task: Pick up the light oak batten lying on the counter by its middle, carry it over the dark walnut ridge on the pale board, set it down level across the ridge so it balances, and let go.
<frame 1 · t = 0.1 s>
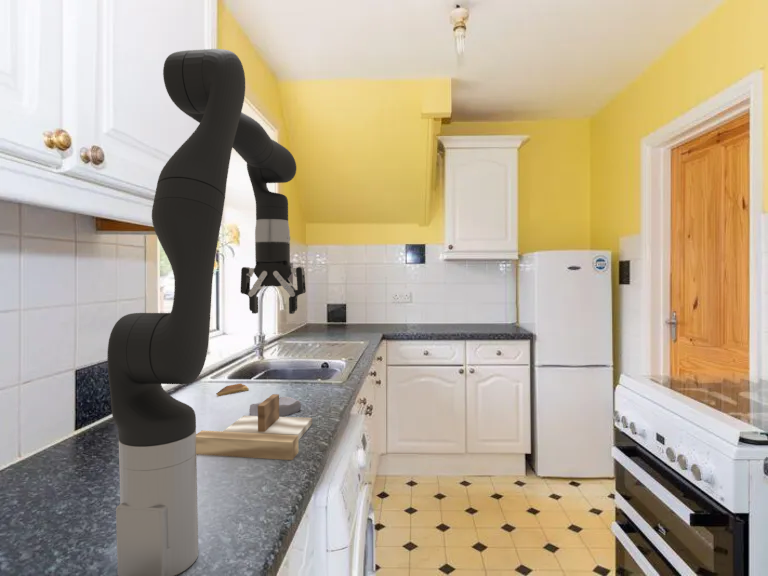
hand: (273, 313, 107), 29 cm above the countertop, fingers open, 8 cm apart
oak batten: (245, 454, 101), on the countertop
shard: (234, 393, 151), on the countertop
stone block: (273, 414, 129), on the countertop
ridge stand: (269, 430, 114), on the countertop
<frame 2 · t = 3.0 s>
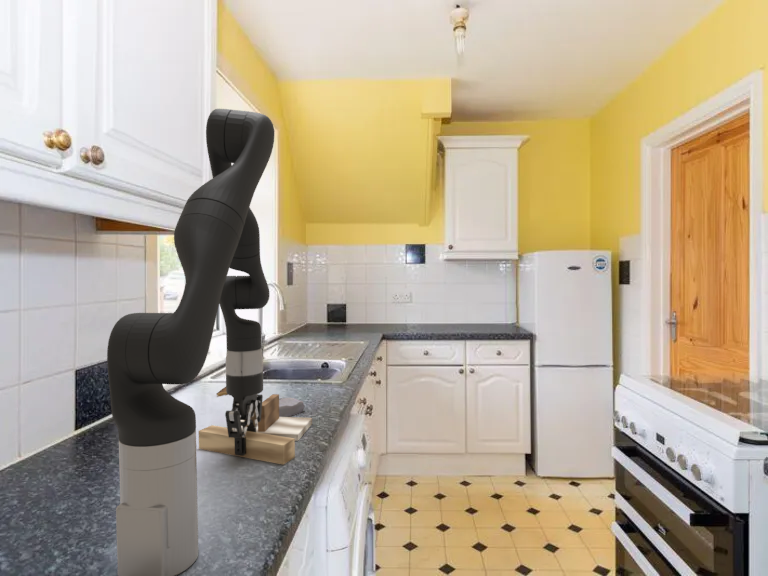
hand: (246, 449, 101), 1 cm above the countertop, fingers closed on oak batten, 4 cm apart
oak batten: (245, 453, 101), on the countertop, touching gripper
stone block: (277, 415, 128), on the countertop
everything else where it was.
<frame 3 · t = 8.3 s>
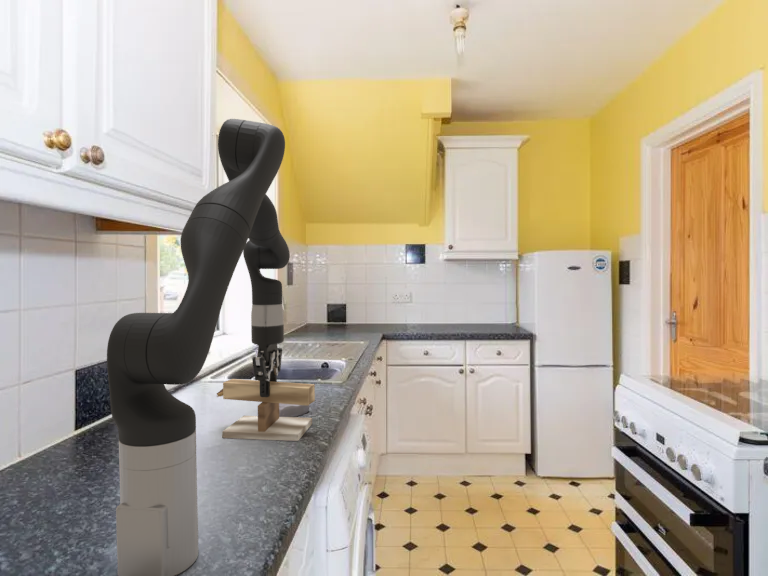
hand: (268, 393, 114), 9 cm above the countertop, fingers closed on oak batten, 4 cm apart
oak batten: (268, 399, 114), point 8 cm above the countertop, touching gripper, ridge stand
stone block: (282, 415, 127), on the countertop
everything else where it was.
when the fingers open (9 cm above the countertop, at t = 8.4 s): oak batten stays where it is, resting on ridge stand.
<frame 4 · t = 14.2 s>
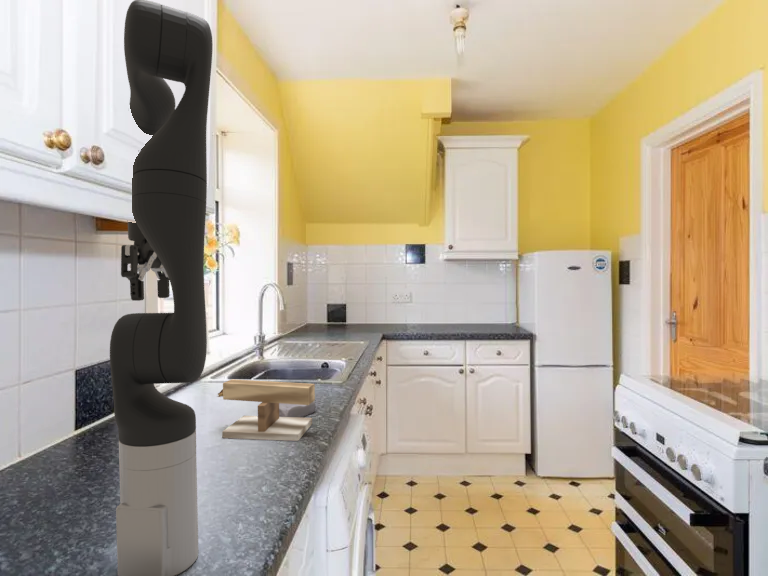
hand: (151, 299, 94), 33 cm above the countertop, fingers open, 8 cm apart
oak batten: (268, 399, 114), point 7 cm above the countertop, touching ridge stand
stone block: (288, 416, 127), on the countertop
everything else where it was.
at the end: oak batten 0.1 cm off-centre on the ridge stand, point 7.5 cm above the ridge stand's base; oak batten tilted 0°; the gripper is holding nothing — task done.
